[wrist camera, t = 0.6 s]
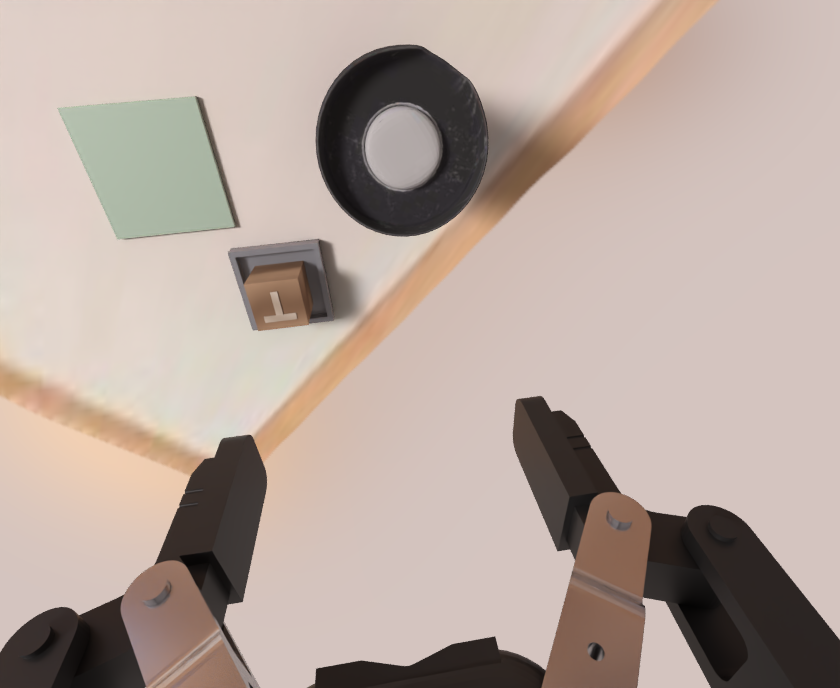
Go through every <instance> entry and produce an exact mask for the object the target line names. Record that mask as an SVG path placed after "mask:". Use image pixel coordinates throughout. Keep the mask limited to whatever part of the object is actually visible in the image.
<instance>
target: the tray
mask: <svg viewBox="0 0 840 688" xmlns="http://www.w3.org/2000/svg"><path fill="white" fill-rule="evenodd" d="M228 255H229V258H230V261H231V265H232V268H233V271H234V274H235V277H236V280H237V283H238V286H239V289H240V292H241V295H242V298H243V302H244V305H245V308H246V311H247V314H248V317H249V320H250V323H251V326H252V329H253V330H258V328H257V325H256V322H255V319H254V316H253V312H252V309H251V306H250V303H249V300H248V297H247V293H246V290H245V287H244V283H245V282H246V280H247V278H248V277H249V275H250V273H251V272H252V270H253V268H254V267H255V266H260V265H269V264H278V263H286V262H295V261H304V265H305V270H306V274H307V278H308V283H309V287H310V292H311V296H312V300H313V307H312V312H311V316H310V321H309V323H317V322H325V321H334V312H333V307H332V302H331V297H330V292H329V287H328V282H327V277H326V272H325V268H324V263H323V258H322V253H321V248H320V243H319V239H315V240H306V241H297V242H288V243H278V244H269V245H260V246H251V247H242V248H233V249H231V250H230V251H229V252H228Z"/></svg>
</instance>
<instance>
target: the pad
mask: <svg viewBox="0 0 840 688" xmlns="http://www.w3.org/2000/svg"><path fill="white" fill-rule="evenodd" d="M58 110H59V113H60V115H61V117H62V119H63V121H64V124H65V126H66V128H67V130H68V132H69V135H70V137H71V139H72V141H73V143H74V145H75V148H76V150H77V152H78V154H79V156H80V159H81V161H82V163H83V165H84V167H85V169H86V172H87V174H88V176H89V178H90V180H91V183H92V185H93V187H94V189H95V191H96V193H97V196H98V198H99V200H100V202H101V204H102V207H103V209H104V211H105V213H106V215H107V218H108V220H109V222H110V224H111V226H112V228H113V231H114V233H115V235H116V237H117V239H126V238H135V237H145V236H154V235H164V234H173V233H183V232H192V231H201V230H211V229H220V228H230V227H235V226H236V225H235V222H234V218H233V215H232V212H231V209H230V205H229V202H228V199H227V195H226V192H225V189H224V185H223V182H222V179H221V176H220V172H219V169H218V166H217V162H216V159H215V156H214V152H213V149H212V146H211V142H210V139H209V136H208V133H207V129H206V126H205V123H204V119H203V116H202V113H201V109H200V106H199V103H198V100H197V96H195V97H183V98H171V99H159V100H147V101H135V102H123V103H111V104H99V105H87V106H76V107H64V108H58Z"/></svg>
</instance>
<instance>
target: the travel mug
mask: <svg viewBox="0 0 840 688" xmlns="http://www.w3.org/2000/svg"><path fill="white" fill-rule="evenodd" d="M316 154H317V159H318V164H319V168H320V171H321V174H322V177H323V180H324V182H325V184H326V186H327V188H328V190H329V192H330V193H331V195H332V197H333V198H334V200H335V201H336V202H337V203H338V205H339V206H340V207H341V208H342V209H343V210H344V211H345V212H346V213H347V214H348V215H349V216H350V217H351V218H353V219H354V220H355V221H356V222H358V223H359V224H361V225H363V226H365V227H366V228H368V229H371V230H373V231H375V232H378V233H382V234H385V235H391V236H415V235H420V234H424V233H428V232H430V231H433V230H435V229H437V228H439V227H441V226H443V225H445V224H446V223H448V222H449V221H450V220H452V219H453V218H454V217H456V216H457V215H458V214H459V213H460V212H461V211H462V210H463V209H464V207H465V206H466V205H467V204H468V203H469V201H470V200H471V198H472V197H473V195H474V194H475V192H476V190H477V188H478V186H479V184H480V182H481V179H482V176H483V174H484V170H485V166H486V162H487V155H488V129H487V122H486V118H485V113H484V110H483V107H482V104H481V101H480V98H479V96H478V93H477V91H476V89H475V87H474V86H473V84H472V83H471V81H470V80H469V79H468V78H467V77H465V76H464V75H463V74H461V73H460V72H459V71H458V70H456V69H455V68H454V67H453V66H451V65H450V64H449V63H447V62H446V61H445V60H443V59H442V58H440V57H438V56H437V55H435V54H433V53H432V52H430V51H429V50H427V49H426V48H424V47H422V46H418V45H395V46H388V47H384V48H380V49H376V50H373V51H371V52H369V53H366V54H364V55H363V56H361V57H359V58H358V59H356V60H355V61H353V62H352V63H351V64H350V65H348V66H347V67H346V68H345V69H344V70H343V71H342V72H341V73H340V74H339V76H338V77H337V78H336V79H335V80H334V82H333V84H332V85H331V87H330V88H329V90H328V92H327V94H326V96H325V98H324V100H323V102H322V106H321V109H320V112H319V116H318V121H317V127H316Z"/></svg>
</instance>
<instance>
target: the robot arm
mask: <svg viewBox="0 0 840 688" xmlns="http://www.w3.org/2000/svg"><path fill="white" fill-rule="evenodd" d="M513 443H514V448H515V451H516V454H517V457H518V458H519V461H520V463H521V466H522V468H523V471H524V473H525V475H526V478H527V480H528V483H529V485H530V487H531V490H532V492H533V494H534V497H535V499H536V501H537V504H538V506H539V509H540V511H541V513H542V516H543V518H544V520H545V522H546V525H547V527H548V529H549V532H550V534H551V536H552V539H553V541H554V544H555V546H556V549H557V551H562V550H568V549H570V550H571V552H572V554H573V556H574V559H575V563H574V567H573V571H572V575H571V579H570V582H569V586H568V590H567V594H566V598H565V601H564V605H563V608H562V612H561V616H560V620H559V623H558V627H557V631H556V635H555V639H554V642H553V646H552V650H551V653H550V658H549V661H548V665H547V669H546V670H544V669H543V668H542V667H540V666H539V665H538V664H536V663H534V662H533V661H531V660H529V659H527V658H525V657H523V656H521V655H518V654H515V653H512V652H509V651H504V650H498V646H497V642H496V638H495V637H490V638H484V639H479V640H473V641H468V642H462V643H456V644H452V645H450V646H448V647H446V648H444V649H442V650H440V651H438V652H436V653H434V654H432V655H431V656H429V657H427V658H425V659H423V660H421V661H419V662H417V663H415V664H413V665H411V666H398V665H391V664H390V665H389V664H383V663H375V662H368V661H356V662H351V663H345V664H340V665H334V666H328V667H323V668H318V669H316V680H315V684H313V685H311V686H310V687H308V688H637V685H638V676H639V667H640V658H641V650H642V642H643V633H644V624H645V606H644V605H643V604H642V599H643V597H644V598H649V599H655V600H661V601H666V603H667V605H668V607H669V609H670V611H671V613H672V615H673V617H674V618H675V620H676V622H677V624H678V626H679V628H680V630H681V632H682V634H683V635H684V637H685V639H686V641H687V643H688V645H689V647H690V649H691V651H692V653H693V654H694V656H695V658H696V660H697V662H698V664H699V666H700V668H701V670H702V671H703V673H704V675H705V677H706V679H707V681H708V683H709V685H710V687H711V688H840V640H839V639H838V637H837V636H836V635H835V633H834V632H833V631H832V630H831V628H829V626H828V625H827V623H826V622H825V621H824V620H823V618H822V617H821V616H820V615H819V614H818V612H817V611H816V610H815V608H814V607H813V606H812V605H811V603H810V602H809V601H808V600H807V598H806V597H805V596H804V595H803V593H802V592H801V591H800V590H799V588H798V587H797V586H796V585H795V583H794V582H793V581H792V580H791V578H790V577H789V576H788V575H787V573H786V572H785V571H784V570H783V568H782V567H781V566H780V564H779V563H778V562H777V561H776V560H775V558H774V557H773V556H772V554H771V553H770V552H769V551H768V549H767V548H766V547H765V546H764V544H763V543H762V542H761V541H760V539H759V538H758V537H757V536H756V534H755V533H754V532H753V531H752V530H751V528H750V527H749V526H748V525H747V524H746V523H745V522H744V521H743V520H742V519H741V518H739V517H738V516H736V515H735V514H733V513H731V512H730V511H727V510H725V509H722V508H720V507H716V506H710V505H701V506H697V507H695V508H693V509H692V510H691V511H690V512H689V514H688V516H687V517H683V516H676V515H668V514H662V513H655V512H650V511H648V510H645V509H644V508H643V507H642V506H641V505H640V504H639V503H638V502H636V501H635V500H634V499H632V498H630V497H628V496H626V495H623V494H621V492H620V491H619V490H618V488H617V487H616V485H615V483H614V482H613V481H612V479H611V477H610V476H609V474H608V472H607V471H606V469H605V468H604V466H603V465H602V463H601V461H600V460H599V458H598V457H597V455H596V453H595V452H594V450H593V449H591V446H590V444H589V442H588V441H587V439H586V438H585V437H584V435H583V433H582V431H581V430H580V428H579V427H578V425H577V423H576V422H575V421H574V420H573V419H571V418H570V417H569V416H568V415H566V414H565V413H564V412H563V411H553V412H551V410H550V408H549V407H548V405H547V403H546V401H545V400H544V398H543V397H542V396H537V397H530V398H522V399H517V400H516V404H515V415H514V427H513ZM266 488H267V476H266V470H265V467H264V464H263V462H262V459H261V457H260V454H259V452H258V449H257V447H256V444H255V442H254V439H253V437H252V436H251V435H244V436H236V437H229V438H223V439H222V440H221V442H220V444H219V447H218V450H217V452H216V455H215V458H209V459H204V461H203V462H202V463H201V464H200V465H199V466H198V468H197V469H196V470H195V471H194V472H193V473H192V475H191V477H190V480H189V482H188V484H187V487H186V489H185V494H184V495H183V497H182V500H181V502H180V504H179V505H180V507H179V508H178V509H177V512H176V514H175V517H174V519H173V521H172V524H171V527H170V529H169V531H168V534H167V536H166V539H165V541H164V544H163V546H162V549H161V551H160V554H159V556H158V559H157V561H156V563H155V565H154V566H152V567H150V568H148V569H147V570H145V571H144V572H143V573H141V574H140V575H139V576H138V577H137V578H136V579H135V580H134V581H133V582H132V583H131V585H130V586H129V587H128V589H127V591H126V592H125V594H124V595H122V596H121V597H119V598H117V599H114V600H112V601H110V602H108V603H105V604H103V605H101V606H99V607H97V608H94V609H92V610H90V611H88V612H86V613H83V614H81V615H78V614H77V613H76V612H75V611H73V610H72V609H70V608H67V607H59V608H54V609H50V610H48V611H45V612H43V613H41V614H39V615H37V616H36V617H34V618H33V619H31V620H30V621H28V622H27V623H26V624H24V625H23V626H22V627H21V628H20V629H19V630H18V631H17V632H16V633H15V634H14V635H13V636H12V637H11V638H10V639H9V641H8V642H7V643H6V644H5V646H4V648H3V649H2V651H1V652H0V688H145V687H146V688H260V687H259V685H258V683H257V681H256V680H255V678H254V676H253V674H252V672H251V670H250V669H249V667H248V665H247V663H246V661H245V659H244V658H243V656H242V654H241V652H240V650H239V648H238V646H237V645H236V643H235V641H234V639H233V637H232V635H231V634H230V632H229V630H228V628H227V626H226V624H225V623H224V617H225V613H226V609H227V605H228V604H233V603H239V602H243V598H244V593H245V588H246V583H247V579H248V574H249V569H250V564H251V560H252V555H253V550H254V546H255V541H256V536H257V531H258V527H259V522H260V517H261V513H262V508H263V503H264V498H265V494H266Z"/></svg>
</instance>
